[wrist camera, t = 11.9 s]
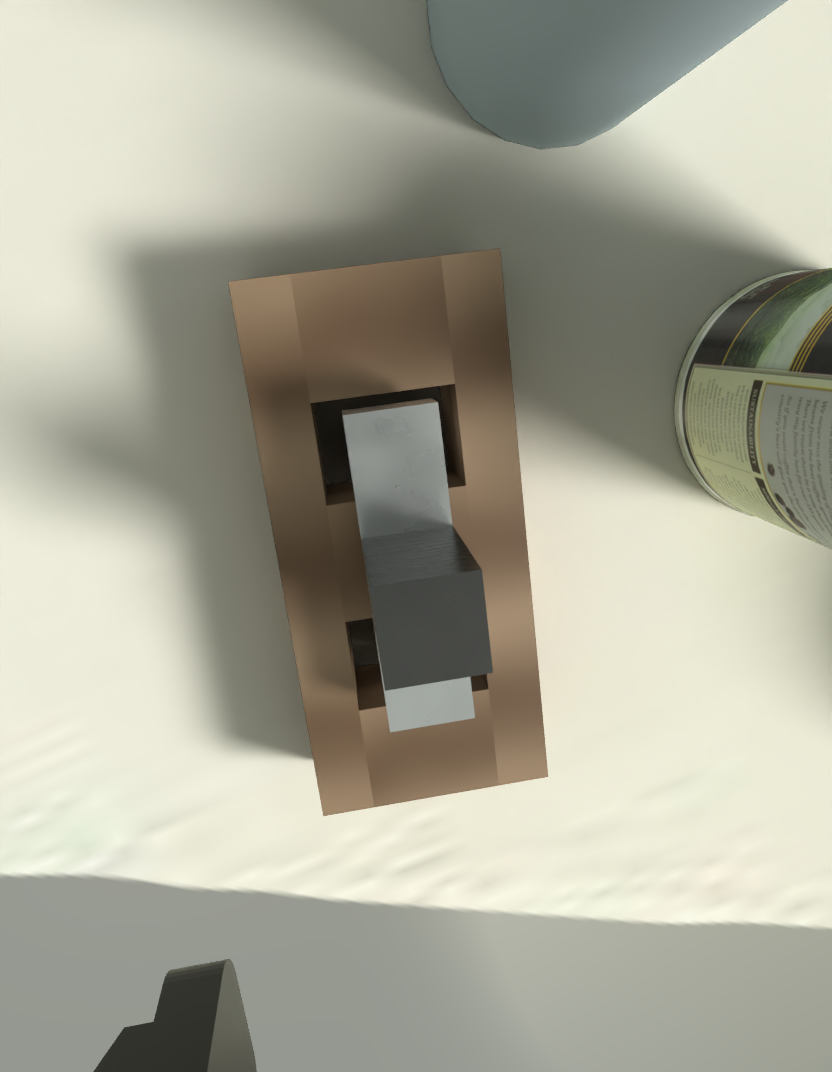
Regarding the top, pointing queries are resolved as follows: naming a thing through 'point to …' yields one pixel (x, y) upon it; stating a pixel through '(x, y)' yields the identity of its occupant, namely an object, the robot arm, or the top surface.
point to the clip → (416, 566)
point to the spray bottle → (575, 58)
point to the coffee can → (764, 403)
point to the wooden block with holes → (332, 523)
